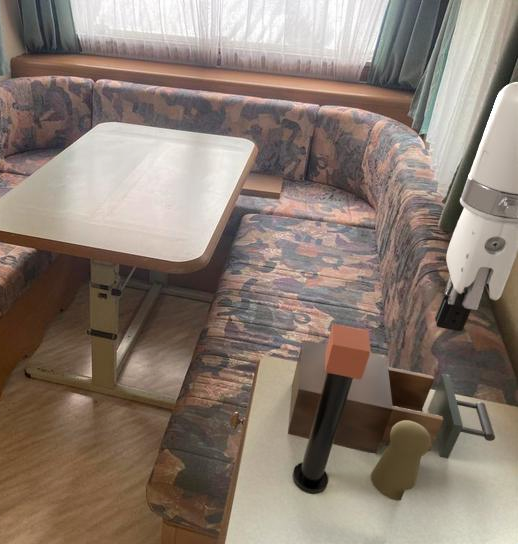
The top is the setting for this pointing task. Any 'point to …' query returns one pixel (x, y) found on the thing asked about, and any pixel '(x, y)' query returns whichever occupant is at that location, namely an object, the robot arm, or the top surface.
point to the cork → (401, 459)
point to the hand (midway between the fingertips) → (448, 325)
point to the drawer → (432, 409)
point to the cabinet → (359, 405)
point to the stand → (322, 435)
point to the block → (347, 351)
